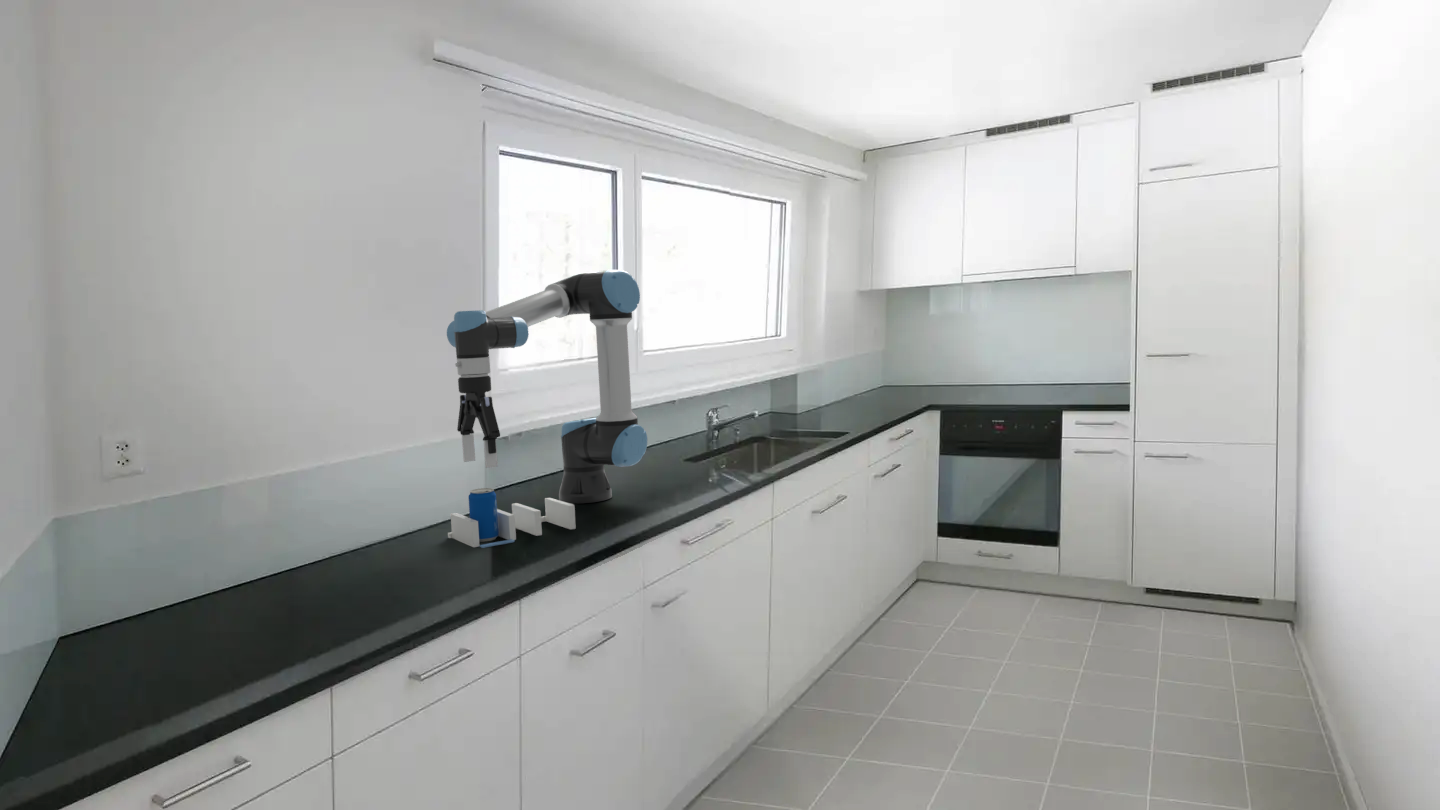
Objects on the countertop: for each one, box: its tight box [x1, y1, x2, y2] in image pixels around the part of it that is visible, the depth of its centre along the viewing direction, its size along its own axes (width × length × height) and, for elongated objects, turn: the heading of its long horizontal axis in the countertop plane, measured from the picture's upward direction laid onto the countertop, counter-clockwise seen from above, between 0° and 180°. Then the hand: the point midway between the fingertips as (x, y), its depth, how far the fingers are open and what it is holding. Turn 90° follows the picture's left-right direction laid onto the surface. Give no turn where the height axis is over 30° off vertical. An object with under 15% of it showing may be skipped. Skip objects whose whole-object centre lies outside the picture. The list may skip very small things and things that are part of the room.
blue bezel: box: [479, 539, 515, 549], centre depth 228 cm, size 8×2×1 cm, turn 126°
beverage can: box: [468, 487, 499, 543], centre depth 234 cm, size 6×6×12 cm
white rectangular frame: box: [447, 497, 577, 548], centre depth 239 cm, size 28×14×6 cm, turn 126°
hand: (480, 464), depth 232 cm, fingers open, 13 cm apart
